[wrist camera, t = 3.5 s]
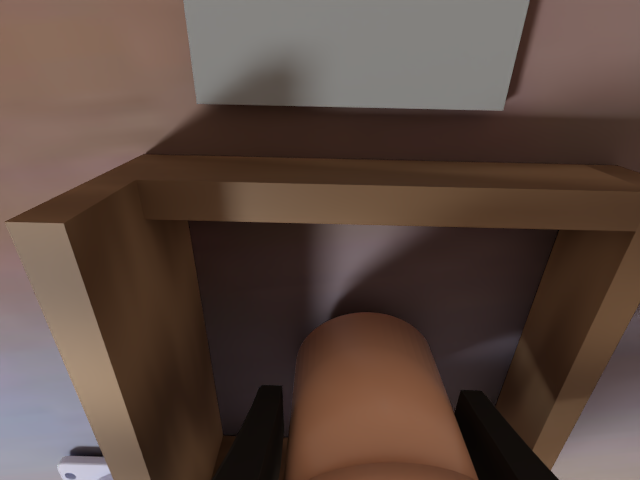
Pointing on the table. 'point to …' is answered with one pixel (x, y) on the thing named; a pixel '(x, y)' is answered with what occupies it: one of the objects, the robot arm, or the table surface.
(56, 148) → the table surface
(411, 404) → the flower pot
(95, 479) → the robot arm
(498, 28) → the slate coaster
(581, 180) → the frame
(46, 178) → the table surface
